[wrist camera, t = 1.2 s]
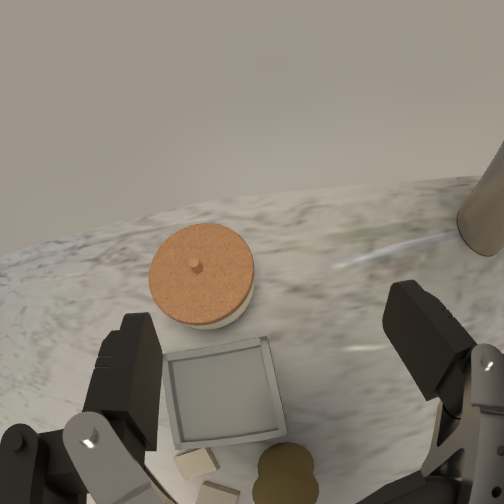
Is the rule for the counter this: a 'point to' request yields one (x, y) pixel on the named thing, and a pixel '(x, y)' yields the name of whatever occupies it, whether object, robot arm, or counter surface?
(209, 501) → the beige rectangular block
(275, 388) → the parts tray
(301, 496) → the pepper mill
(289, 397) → the counter surface
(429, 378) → the robot arm
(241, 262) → the lidded jar
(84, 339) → the counter surface
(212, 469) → the tan block
